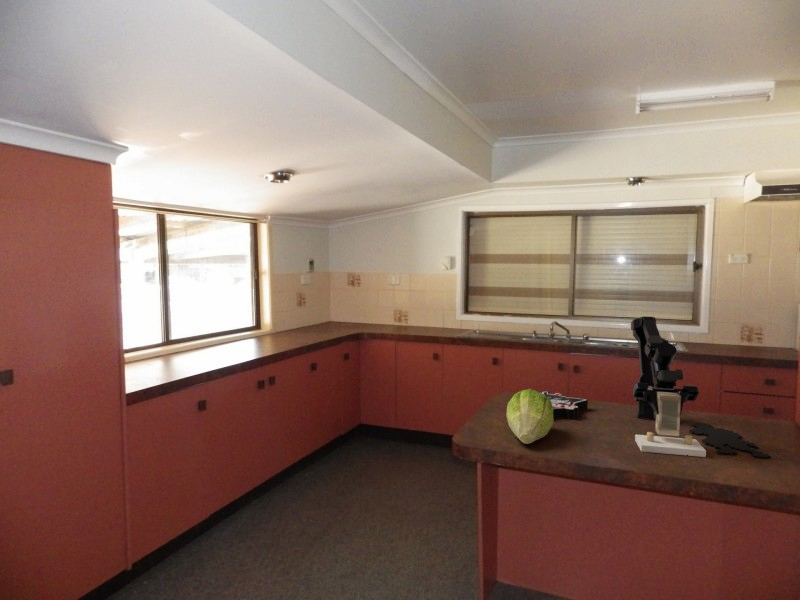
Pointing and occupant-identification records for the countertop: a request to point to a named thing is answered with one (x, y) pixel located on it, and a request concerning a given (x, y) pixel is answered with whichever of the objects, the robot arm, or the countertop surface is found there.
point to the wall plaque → (565, 405)
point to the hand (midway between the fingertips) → (668, 414)
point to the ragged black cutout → (726, 441)
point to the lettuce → (530, 415)
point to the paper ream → (668, 413)
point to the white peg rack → (670, 445)
